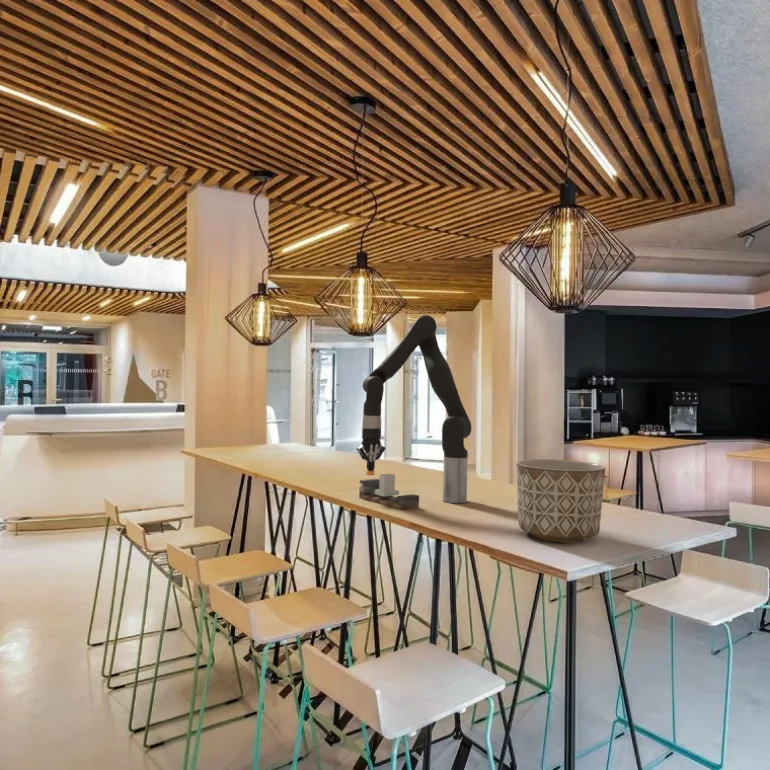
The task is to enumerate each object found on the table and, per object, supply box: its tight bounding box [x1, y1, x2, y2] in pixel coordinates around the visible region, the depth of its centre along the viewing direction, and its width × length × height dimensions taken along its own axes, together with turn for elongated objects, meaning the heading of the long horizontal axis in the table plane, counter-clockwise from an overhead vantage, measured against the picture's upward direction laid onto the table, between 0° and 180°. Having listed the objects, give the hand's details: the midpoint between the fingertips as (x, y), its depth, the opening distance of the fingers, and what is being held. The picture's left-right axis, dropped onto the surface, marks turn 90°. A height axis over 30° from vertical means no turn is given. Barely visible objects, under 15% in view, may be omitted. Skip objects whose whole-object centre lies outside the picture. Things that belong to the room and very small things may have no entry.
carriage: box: [375, 473, 400, 496], centre depth 237 cm, size 6×7×8 cm
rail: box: [358, 478, 420, 511], centre depth 236 cm, size 27×8×7 cm, turn 37°
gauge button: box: [365, 469, 376, 476], centre depth 246 cm, size 3×3×2 cm
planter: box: [516, 458, 606, 543], centre depth 190 cm, size 26×26×22 cm
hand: (370, 470), depth 246 cm, fingers closed
